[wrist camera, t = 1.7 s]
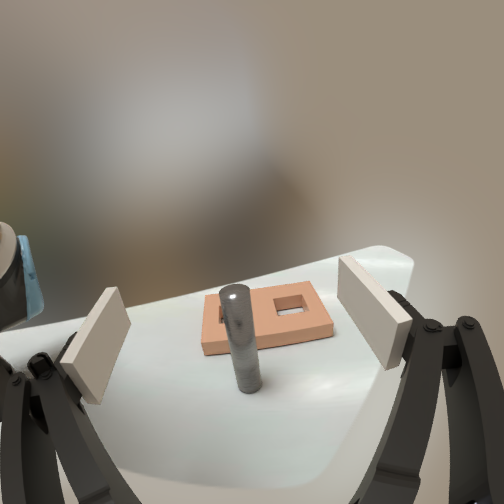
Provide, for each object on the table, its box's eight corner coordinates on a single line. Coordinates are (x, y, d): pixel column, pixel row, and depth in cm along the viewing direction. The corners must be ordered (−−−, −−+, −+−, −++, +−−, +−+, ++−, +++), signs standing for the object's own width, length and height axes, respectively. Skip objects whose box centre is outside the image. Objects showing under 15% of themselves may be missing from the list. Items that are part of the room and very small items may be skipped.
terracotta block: (204, 355, 37) (200, 342, 37) (207, 306, 49) (205, 295, 48) (332, 335, 38) (333, 322, 37) (309, 292, 50) (309, 280, 49)
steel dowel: (238, 394, 30) (218, 302, 25) (237, 377, 33) (219, 286, 28) (262, 391, 30) (251, 297, 25) (260, 374, 33) (248, 282, 28)
